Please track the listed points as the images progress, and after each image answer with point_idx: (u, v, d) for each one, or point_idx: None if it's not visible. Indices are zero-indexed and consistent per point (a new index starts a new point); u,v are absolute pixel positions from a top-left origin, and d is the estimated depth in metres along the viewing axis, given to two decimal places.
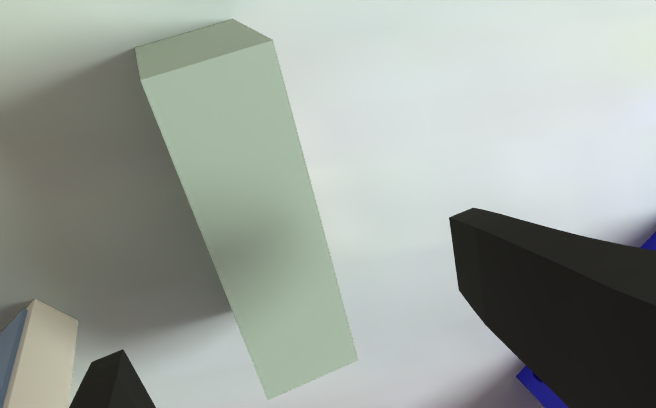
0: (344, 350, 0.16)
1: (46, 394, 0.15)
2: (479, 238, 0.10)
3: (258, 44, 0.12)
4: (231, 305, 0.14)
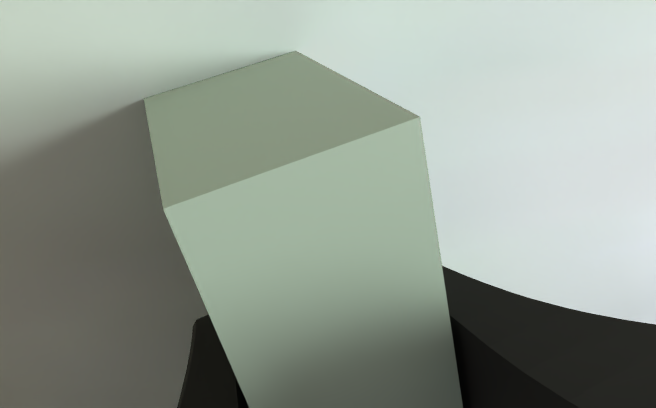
0: None
1: None
2: None
3: (392, 126, 0.06)
4: None
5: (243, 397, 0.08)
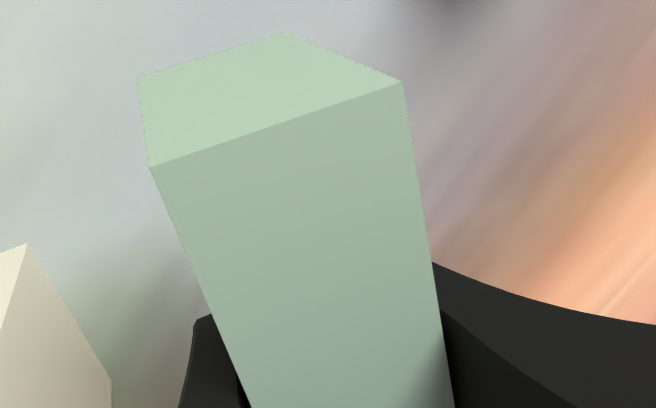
0: None
1: None
2: None
3: (375, 90, 0.06)
4: None
5: (244, 397, 0.08)
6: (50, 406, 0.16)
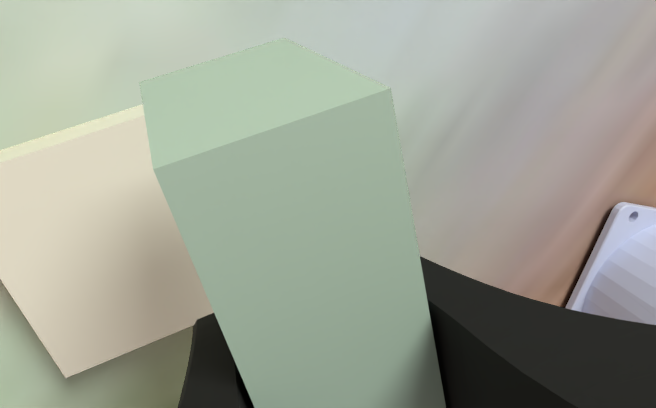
0: None
1: (97, 124, 0.15)
2: None
3: (365, 96, 0.07)
4: None
5: (244, 397, 0.08)
6: (95, 236, 0.15)
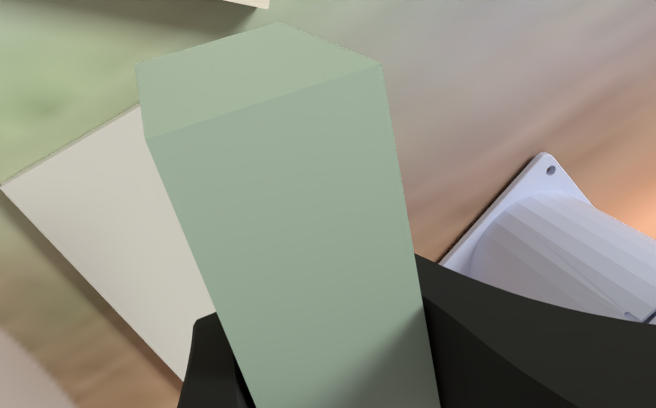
0: None
1: None
2: None
3: (356, 71, 0.07)
4: None
5: (243, 397, 0.08)
6: None
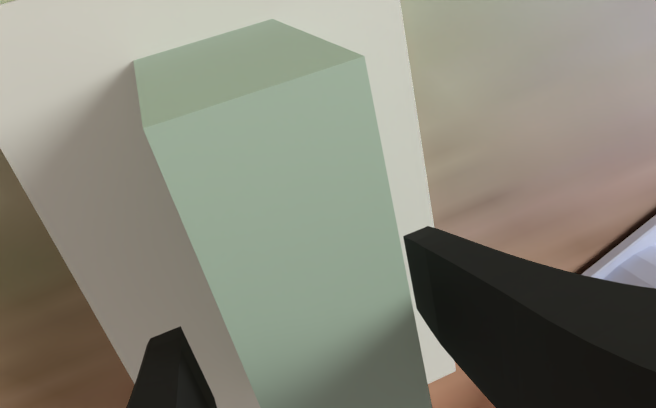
0: None
1: None
2: (429, 259, 0.10)
3: (341, 63, 0.07)
4: None
5: None
6: None
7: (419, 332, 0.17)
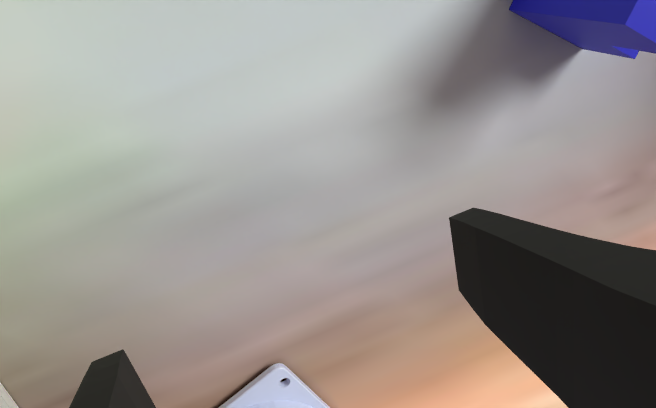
0: None
1: None
2: (479, 238, 0.10)
3: None
4: None
5: None
6: None
7: None
